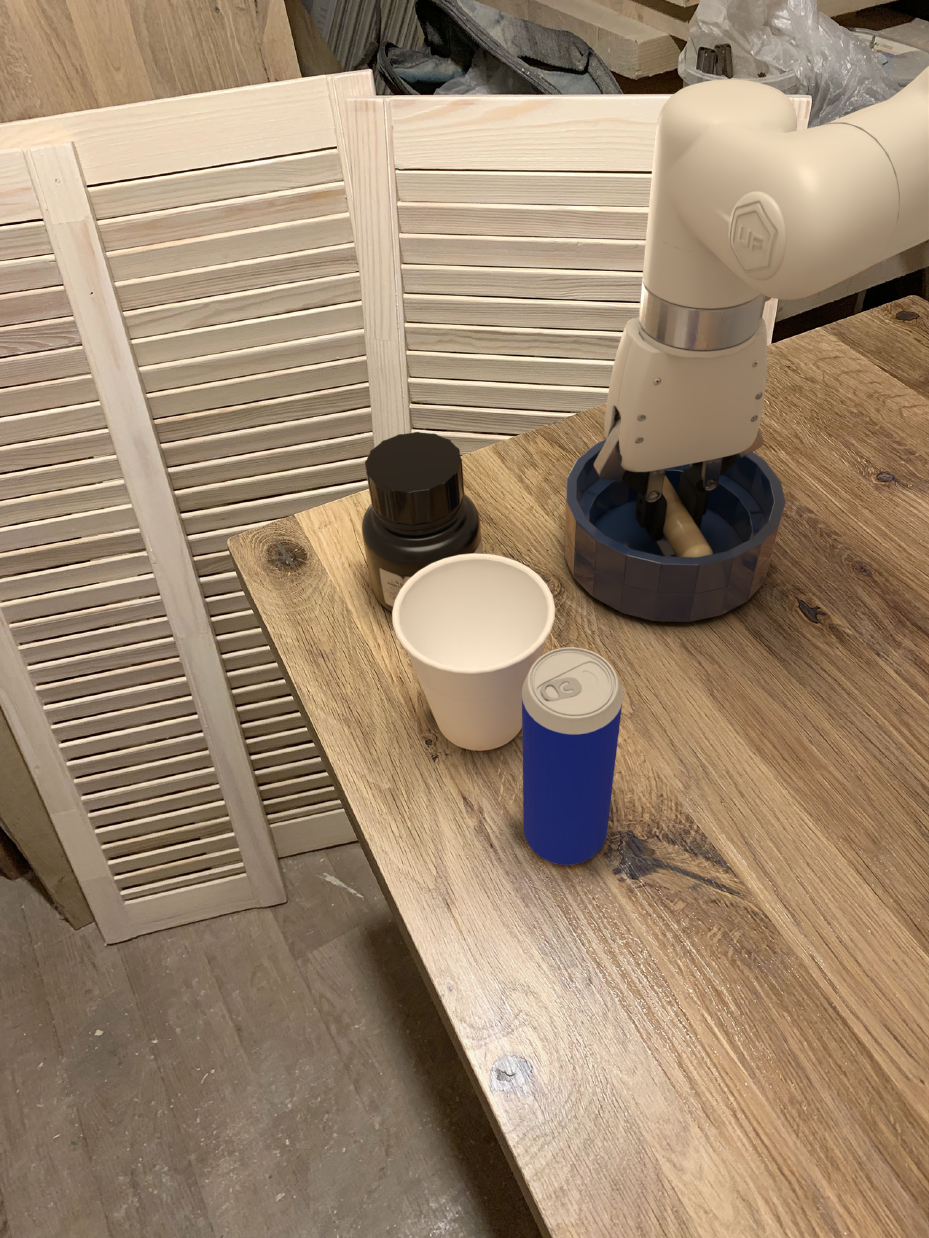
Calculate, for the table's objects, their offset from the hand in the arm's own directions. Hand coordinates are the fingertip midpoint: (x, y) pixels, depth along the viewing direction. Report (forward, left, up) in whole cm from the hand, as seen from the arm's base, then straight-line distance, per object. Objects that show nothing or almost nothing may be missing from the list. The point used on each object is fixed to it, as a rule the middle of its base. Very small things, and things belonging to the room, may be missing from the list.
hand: (669, 524), depth 72 cm
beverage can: (+15, +22, -3) cm, 27 cm away
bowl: (0, 0, -3) cm, 3 cm away
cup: (+18, +12, -3) cm, 22 cm away
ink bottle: (+19, -2, -3) cm, 19 cm away
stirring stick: (0, 0, 0) cm, 0 cm away
